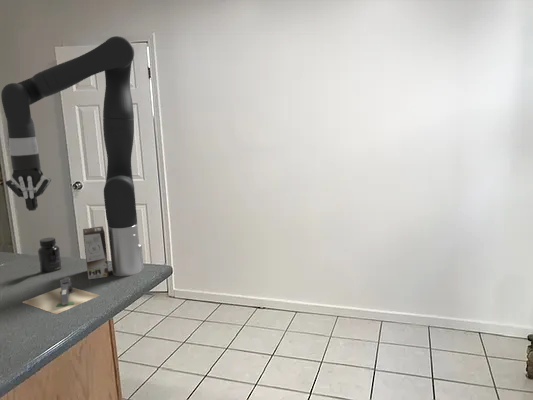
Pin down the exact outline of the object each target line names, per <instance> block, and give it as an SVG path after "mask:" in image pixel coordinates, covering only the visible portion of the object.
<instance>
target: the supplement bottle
mask: <svg viewBox="0 0 533 400" xmlns="http://www.w3.org/2000/svg"><path fill="white" fill-rule="evenodd" d="M39 246H40V247H39V248H38V249H37V256H38V257H37V258H38V264H39V265H38V266H39V271H40V273H53V272H58V271H60V270H61V269H63V265H62V256H61V248H60V247H59V246H58V245H57V242H56V238H55V237H45V238H41V239H40V240H39Z"/></svg>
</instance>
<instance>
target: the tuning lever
mask: <svg viewBox="0 0 533 400" xmlns="http://www.w3.org/2000/svg"><path fill="white" fill-rule="evenodd" d="M59 282H60V287H61V300H62V305H66V304H69V294H70V291H72V287H73V283H72V277H68V276H67V277H63V278H60V280H59Z"/></svg>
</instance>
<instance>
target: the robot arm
mask: <svg viewBox="0 0 533 400" xmlns="http://www.w3.org/2000/svg"><path fill="white" fill-rule="evenodd" d="M134 48H135V47H134V46H133V44H132V42H131V41H130V40H128V39H127V38H126V37H123V36H111V37H109V38H107V39H106V40H105V41H104V42H102V43H101V44H99V45H98V46H96V47H95V48H92V49H91V50H90V51H88V52H85V53H84V54H82V55H80V56H77V57H75V58H71V59H69V60H66V61H64V62H62V63H59V64H56V65H54V66H51V67H49V68H47V69H44V70H42V71H39V72H37V73H36V74H34V75H33V76H32V77H30V78H27V79H25V80H22V81H19V82H18V83H17V82H11V83H8V84H5V86H3V88H2V90H1V96H0V97H1V98H0V99H1V103H2V108H3V111H4V115H5V118H6V119H5V120H6V124H7V126H6V127H7V133H8V140H9V141H8V145H9V146H8V148H9V154H10V155H9V156H10V161H11V162H10V163H11V167H12V174H11V178H10V179H8V180H7V181H6V180H5V185H6V186H7V187H8V188H9V189H10V190H12V192H13V193H14V194H15V195H16V196H17V197H18V198H24V201H25V208H26V209H27V210H28V211H29V212H30V211H36V210H37V208H38V197H39V196H41V195H43V194H44V192H45V191H46V189H47V188H48V186H49V185H50V183H51V182H52V179H51V178H48V177H46V176H44V174H43V171H42V169H41V160H40V152H39V151H40V150H39V146H38V145H39V144H38V141H37V137H36V131H35V130H36V129H35V123H34V121H33V118H32V115H31V107H30V106H31V105H33V104H35V103H37V102H40V101H41V100H42V99H44V98H47V97H50V96H53V95H55V94H59V93H60V92H63V91H65V90H66V89H68V88H71V87H73V86H74V85H77V84H79V83H81V82H82V81H85V80H86V79H87V78H89V77H92V76H95V75H97V74H100V73H103V72H104V77H105V89H104V100H103V109H102V129H103V139H104V140H103V141H104V147H105V151H106V157H107V158H106V159H107V160H106V161H107V168H106V170H107V171H106V178H105V184H104V188H103V199H104V210H105V217H106V224H107V231H108V241H109V251H110V253H109V254H110V263H111V271H112V275H114V276H115V277H116V276H117V277H128V276H133V275H136V274H139V273H140V272H141V271H142V270H144V254H143V245H141V244H140V238H139V237H140V236H139V226H138V216H137V214H138V213H137V207H136V206H137V205H136V193H135V183H134V178H133V169H132V153H133V147H134V146H133V145H134V134H135V122H134V121H135V116H134V115H135V113H134V104H133V98H132V93H131V92H132V91H131V71H132V62H134V61H133V60H134V57H135V49H134ZM39 183H41V184H40V185H39V188H38V184H39Z"/></svg>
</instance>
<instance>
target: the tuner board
mask: <svg viewBox="0 0 533 400" xmlns="http://www.w3.org/2000/svg"><path fill="white" fill-rule="evenodd" d="M100 296H101V295H100V294H96V293H93V292H89V291H86V290H82V289H79V288H76V287H73V286H72V291H70V294H69V304H66V305H62V300H61V286H60V287H58V288H56V289H52V290H50V291H47V292H45V293H42V294H40V295H36V296H35V297H31V298H29V299H26V300H24V301H22V303H23V304H26V305H28V306H32V307H35V308H37V309H41V310H43V311H46V312H48V313H51V314H54V315H58V314H60V313H63V312H65V311H68V310H70V309H72V308H75V307H77V306H79V305H81V304H83V303H86V302H89V301H91V300H93V299H95V298H98V297H100Z"/></svg>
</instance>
